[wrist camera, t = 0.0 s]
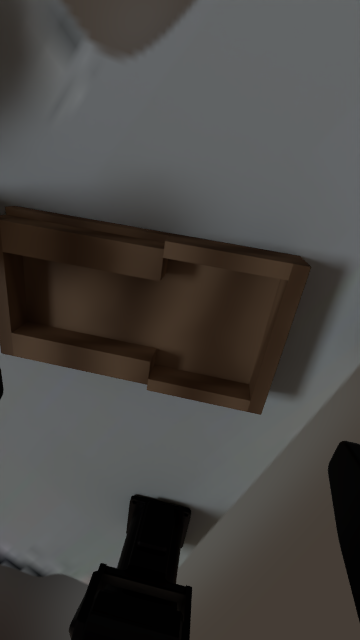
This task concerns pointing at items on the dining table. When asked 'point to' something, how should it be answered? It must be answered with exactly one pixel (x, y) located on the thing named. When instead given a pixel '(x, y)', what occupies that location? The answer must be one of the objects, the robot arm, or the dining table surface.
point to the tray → (147, 305)
